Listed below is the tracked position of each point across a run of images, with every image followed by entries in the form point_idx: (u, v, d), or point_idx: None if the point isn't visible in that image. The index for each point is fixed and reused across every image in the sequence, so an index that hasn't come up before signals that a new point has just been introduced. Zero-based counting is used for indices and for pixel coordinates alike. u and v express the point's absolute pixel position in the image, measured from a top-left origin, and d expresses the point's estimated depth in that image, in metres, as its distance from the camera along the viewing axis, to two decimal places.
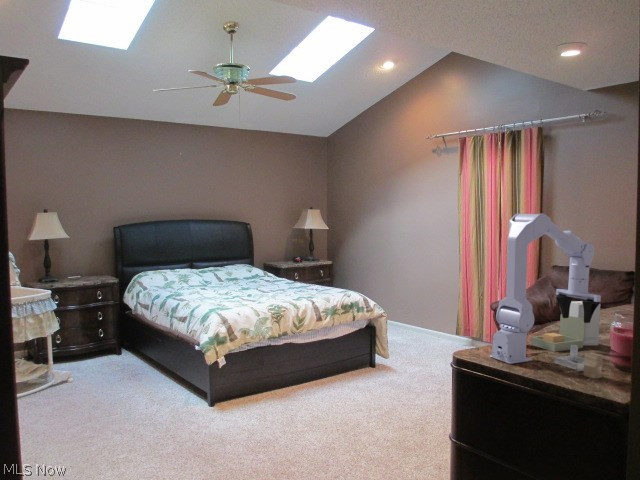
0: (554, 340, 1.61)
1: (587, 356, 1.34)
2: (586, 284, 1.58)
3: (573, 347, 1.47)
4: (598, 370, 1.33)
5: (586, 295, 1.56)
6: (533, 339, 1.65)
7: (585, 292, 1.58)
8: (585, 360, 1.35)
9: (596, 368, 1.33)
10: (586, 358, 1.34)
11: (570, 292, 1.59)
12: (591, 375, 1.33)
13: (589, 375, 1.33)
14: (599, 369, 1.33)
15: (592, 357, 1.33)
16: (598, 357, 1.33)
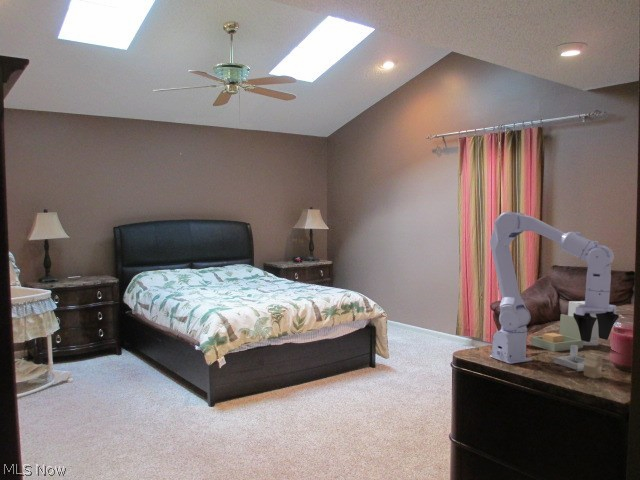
0: (554, 340, 1.61)
1: (587, 356, 1.34)
2: (590, 296, 1.32)
3: (573, 347, 1.47)
4: (598, 370, 1.33)
5: None
6: (533, 339, 1.65)
7: (589, 305, 1.33)
8: (585, 360, 1.35)
9: (596, 368, 1.33)
10: (586, 358, 1.34)
11: None
12: (591, 375, 1.33)
13: (589, 375, 1.33)
14: (599, 369, 1.33)
15: (592, 357, 1.33)
16: (598, 357, 1.33)
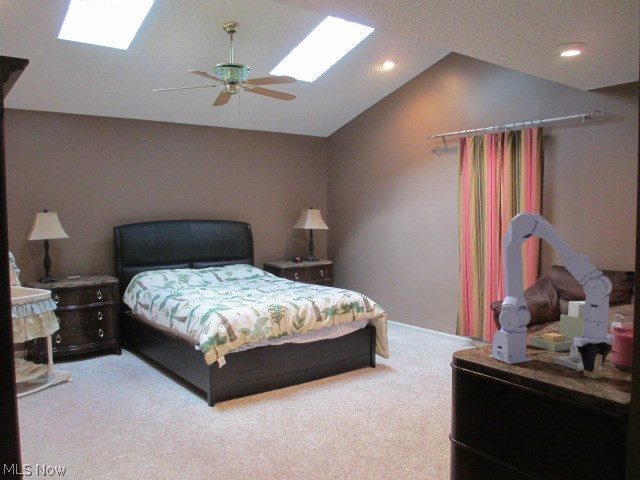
0: (554, 340, 1.61)
1: None
2: (588, 326, 1.32)
3: (573, 347, 1.47)
4: (598, 370, 1.33)
5: None
6: (533, 339, 1.65)
7: (587, 335, 1.33)
8: None
9: (596, 368, 1.33)
10: None
11: None
12: (591, 375, 1.33)
13: (589, 375, 1.33)
14: (599, 369, 1.33)
15: None
16: (598, 357, 1.33)
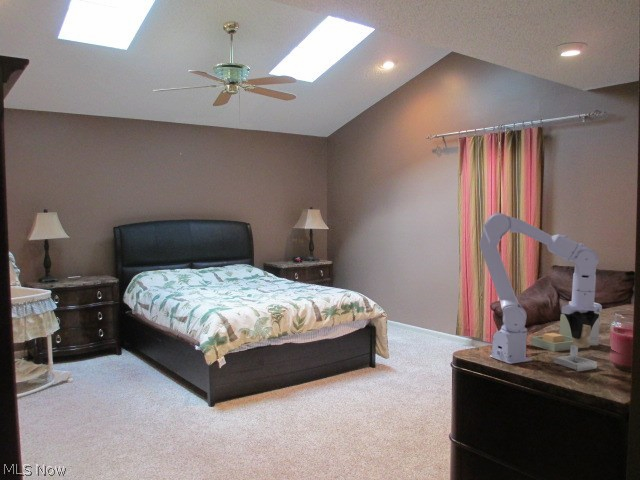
0: (554, 340, 1.61)
1: None
2: (576, 296, 1.39)
3: (573, 347, 1.47)
4: (587, 340, 1.39)
5: None
6: (533, 339, 1.65)
7: (575, 304, 1.40)
8: None
9: (585, 338, 1.39)
10: None
11: None
12: (580, 344, 1.39)
13: (578, 345, 1.40)
14: (587, 339, 1.40)
15: None
16: (587, 327, 1.39)
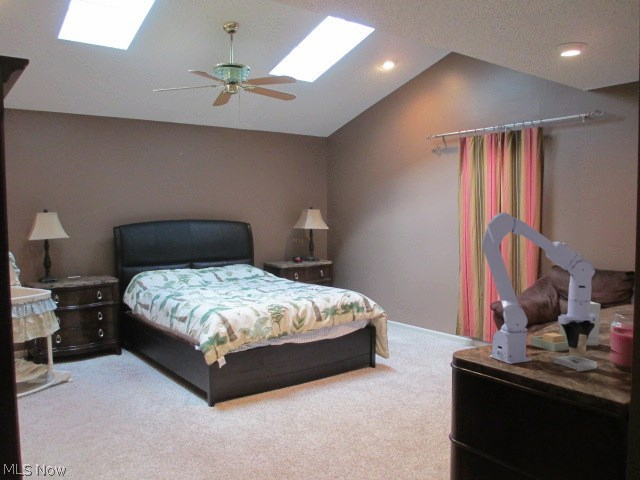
0: (554, 340, 1.61)
1: None
2: (572, 305, 1.41)
3: None
4: (583, 349, 1.42)
5: None
6: (533, 339, 1.65)
7: (571, 314, 1.42)
8: None
9: (581, 347, 1.41)
10: None
11: None
12: (576, 354, 1.41)
13: (574, 354, 1.42)
14: (583, 348, 1.42)
15: None
16: (582, 337, 1.41)
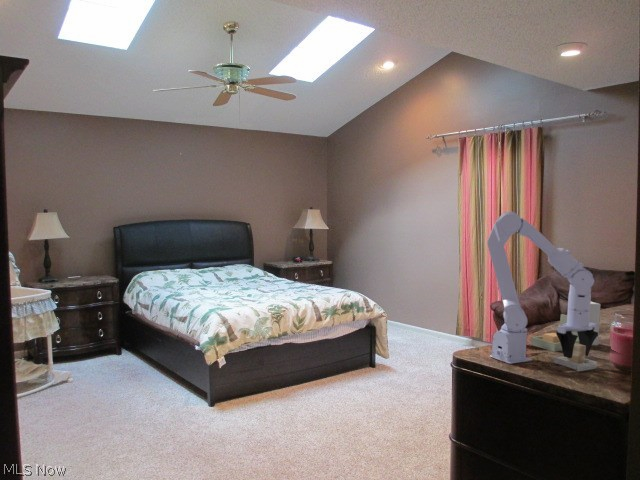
0: (554, 340, 1.61)
1: None
2: (571, 315, 1.41)
3: None
4: (582, 359, 1.42)
5: None
6: (533, 339, 1.65)
7: (570, 323, 1.42)
8: None
9: (580, 357, 1.41)
10: None
11: None
12: None
13: None
14: (583, 358, 1.42)
15: (576, 347, 1.41)
16: (582, 347, 1.41)
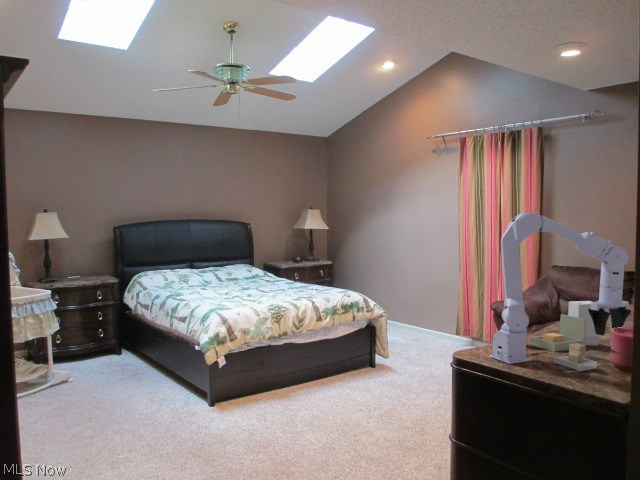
0: (554, 340, 1.61)
1: (571, 346, 1.43)
2: (604, 292, 1.41)
3: None
4: (582, 359, 1.42)
5: None
6: (533, 339, 1.65)
7: (603, 301, 1.41)
8: (570, 350, 1.43)
9: (580, 357, 1.41)
10: (571, 348, 1.43)
11: None
12: None
13: None
14: (583, 358, 1.42)
15: (576, 347, 1.41)
16: (582, 347, 1.41)
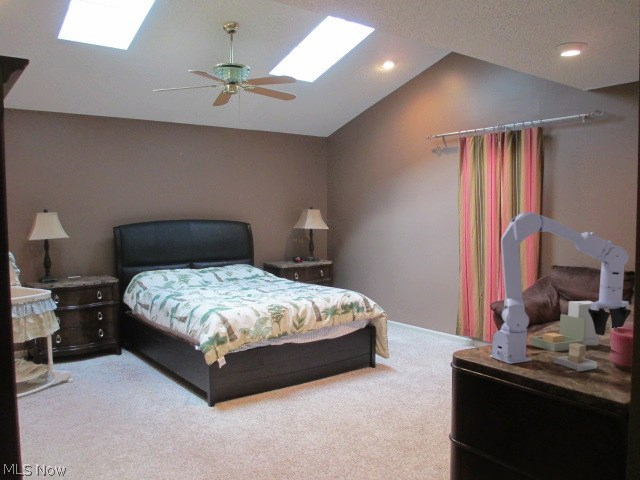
0: (554, 340, 1.61)
1: (571, 346, 1.43)
2: (604, 292, 1.41)
3: None
4: (582, 359, 1.42)
5: None
6: (533, 339, 1.65)
7: (603, 301, 1.41)
8: (570, 350, 1.43)
9: (580, 357, 1.41)
10: (571, 348, 1.43)
11: None
12: None
13: None
14: (583, 358, 1.42)
15: (576, 347, 1.41)
16: (582, 347, 1.41)
